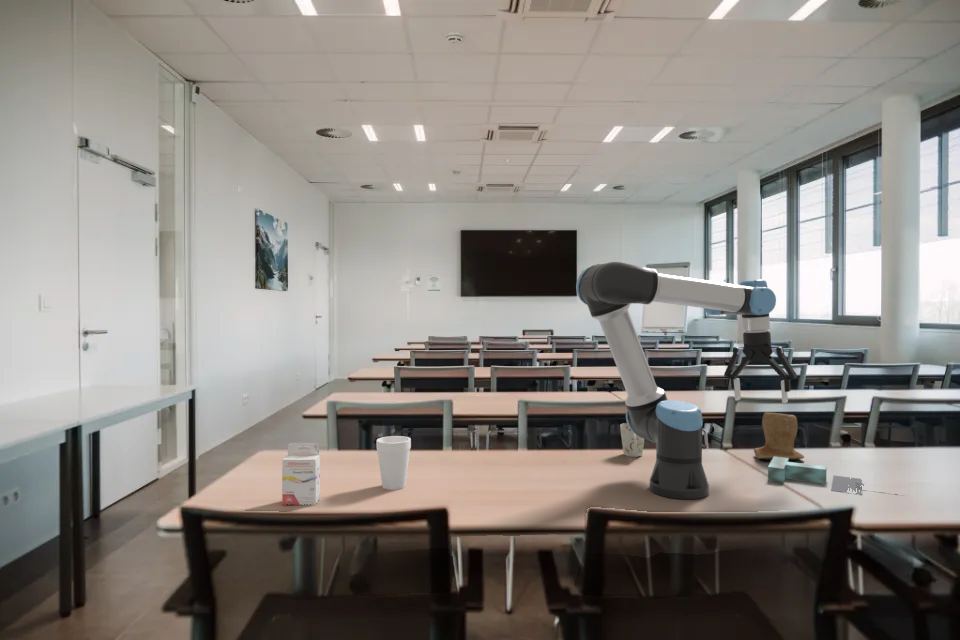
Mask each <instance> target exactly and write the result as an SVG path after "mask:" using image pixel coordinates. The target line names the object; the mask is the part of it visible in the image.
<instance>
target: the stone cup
mask: <svg viewBox="0 0 960 640" xmlns="http://www.w3.org/2000/svg"><path fill="white" fill-rule="evenodd" d="M761 426H762V429H763V434H764V440H765V443H764V445H763V446H761V447H755V448H754V449H753V453H754V456H755V457H756V459H758V460H769V461H772V459H773V457H774V456H775V457H784V458H789V461H790V460H801V459H805V455H803V454H802V453H800V452H798V451H797V450H796V449H795V447H794V446H795V445H794V444H795V439H796V437H797V433H798V418H797V416H796V415H794V414H787V413H776V412H764V413H763V415H762V420H761Z"/></svg>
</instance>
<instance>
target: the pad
mask: <svg viewBox="0 0 960 640" xmlns="http://www.w3.org/2000/svg"><path fill="white" fill-rule="evenodd" d="M861 479H862V478H856V477H851V479H850V477H849V476H841V475H835V474H834V475H833V477H832V482H831V488H830V491H831V492H836V493H837V492H838V493H843V492H847V490H848V488H849V491H850V488H851V489H852V492H853V490H854V491H855V492H856V488H857V493H856V494H855V495H857V494H860V495H859V496H863V490H862V486H861V485H863V486H864V484H865V483H864V484H863V479H862V480H861ZM848 485H849V486H848ZM860 486H861V487H860ZM859 490H860V492H859ZM861 492H862V493H861Z"/></svg>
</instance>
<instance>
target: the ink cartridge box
mask: <svg viewBox="0 0 960 640" xmlns="http://www.w3.org/2000/svg"><path fill="white" fill-rule="evenodd" d="M303 447H304V448H306V449H301V448H303ZM281 462H282V465H281V466H282V468H281V471H282V472H281V473H282V474H281V475H282V479H281V480H282V481H281V483H282V484H281V485H282V486H281V487H282V489H281V492H282V493H281V496H282V497H281V499H282V500H281V502H282V503H281V504H283V505H282V506H314V505H313V504H316V503H319V501H320V498H321V472H320V471H321V455H320V444H319V443H318V442H317V443H315V442H314V443H312V442H311V443H309V442H308V443H304V442H303V443H301V442H300V443H299V442H298V443H297V442H295V443H288V444H287V455H286V456H285V457H284V458H282V461H281ZM318 500H319V501H318ZM287 504H288V505H287ZM290 504H292V505H290ZM293 504H294V505H293ZM301 504H302V505H301ZM304 504H305V505H304ZM306 504H308V505H306ZM310 504H311V505H310ZM316 505H317V504H316Z"/></svg>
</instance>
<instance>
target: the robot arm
mask: <svg viewBox="0 0 960 640" xmlns="http://www.w3.org/2000/svg"><path fill="white" fill-rule="evenodd" d="M575 285H576V286H575V288H576V291H575V292H576V294H577V297H578V298H579V299H580V301H581V302H582V303H584V305H587V309H588V310H589V312H590V316H591V318H593V319H595V320H597V321H599V324H600V326H601V330H602V331H603V334H604V337H605V339H606V343H607V346H608V348H609V350H610V353H611V355H612V358H613V360H614V363H615V365H616V368H617V370H618V373H619V375H620V376H619V377H620V379H621V381H622V384H623V388H625V389H624V390H625V391H626V393H627V397H626V399H625V402H624V403H625V406H626V412H625V420H626V423H627V424H628V426H629V428H630V429H631V430H632V431H633V432H634V433H635V434H636V435H638V436H639V437H641V438H644V440H646V441H648V442H649V441H650V442H651V443H654V444H655V451H656V452H655V453H656V454H655V455H656V457H655V458H656V459H655V463H654V467H653V469H652V472H651V475H650V478H649V490H650V491H651V492H652V493H654V494H655V495H656V494H657V495H658V496H661V497H666V498H670V499H678V500H697V499H703V498H706V497H707V496H709V494H710V484H709V481H708V478H707V475H706V473H705V469H704V467H703V466H704V465H703V425H704V424H703V423H704V422H703V421H704V420H703V415H702V413H703V412H702V410H701V409H700V408H699V407H698V406H697V405H696V404H694V403H691V402H688V401H682V400H675V399H671V400H670V399H668V397H667V395H666V392H665V390H664V389H663V388H661V387H659V386H658V385H657V384H656V383H657V382H656V381H655V377H654V375H653V373H652V370H651V367H650V365H649V363H648V359H647V358H646V355H645V352H644V349H643V347H642V344H641V341H640V338H639V336H638V333H637V331H636V328H635V326H634V323H633V320H632V317H631V315H630V312H629V308H630V305H632V304H639V305H651V304H652V303H653V302H655V303H660V304H661V303H663V304H670V305H677V306H678V305H679V306H685V307H693V308H700V309H704V311H705V313H706V314H708V315H709V316H722V315H741V322H742V323H741V324H742V331H744V332H743V333H742V339H743V341H742V342H743V347H740V346H735V347H733V348H732V355H731V358H730V361H729V362H728V364H727V367H726V369H725V372H724V374H723V376H724V377H725V378H729V379H730V389H732V390H733V391H734V401H736V402H737V401H740V400H741V399H742V396H741V381H740V378H738V376H739V375H740V374H741V373H742V371H743V370H744V369H745V368H746V366H748V365H749V363H766V364H767V365H769V366H770V367H771V368H772V369H773V370H774V372H776V373H777V374H778V375H779V377H780V378H781V379H782V380H781V381H780V387H781V388H780V391H781V404H786V403H788V401H789V398H788V397H789V396H788V393H789V392H791V389H792V388H791V380H794V379H796V378H797V377H798V375H797V372H795V370H794V368H793V366H792V365H791V363H790V361H789V360H788V358H787V356H786V355H785V351H784V348H783V346H778V347H772V338H771V332H770V331H769V330H770V329H771V322H770V321H771V320H770V313H771V312H772V311H773V310H774V309H775V307H776V304H777V297H776V294H775V293H774V291H773V290H772V289H771V288H769V287H768V283H767V280H765V279H753V280H741V281H740V283H739V284H733V283H727V282H719V281H714V280H713V281H712V280H706V279H698V278H692V277H686V276H685V277H684V276H677V275H671V274H666V273H658V271H657V270H656V269H655V268H653V267H651V268H650V267H644V266H641V265H640V266H639V265H636V264H630V263H626V262H619V261H612V262H611V261H609V262H604V263H597V264H594V265H591V266H588V267H587V268H585V269H584V270H583V271H582V272H581V273H580V275H579V276H578V278H577V280H576V284H575ZM742 353H743V354H744V356H745V357H744V358H743V359H742V361H741V363H739V365H737V367H736V368H735V366H736V364H737V362H738V360H739V358H740V355H741V354H742ZM773 353H774V354H775V356H777V358H778V359H779V361H780V363H781V365H782V366H783V368H784V369H783V368H782V366H780V365H779V364H778V362H777V361H776V360H775V359H774V358H773V356H772V354H773ZM734 368H735V370H734Z"/></svg>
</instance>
